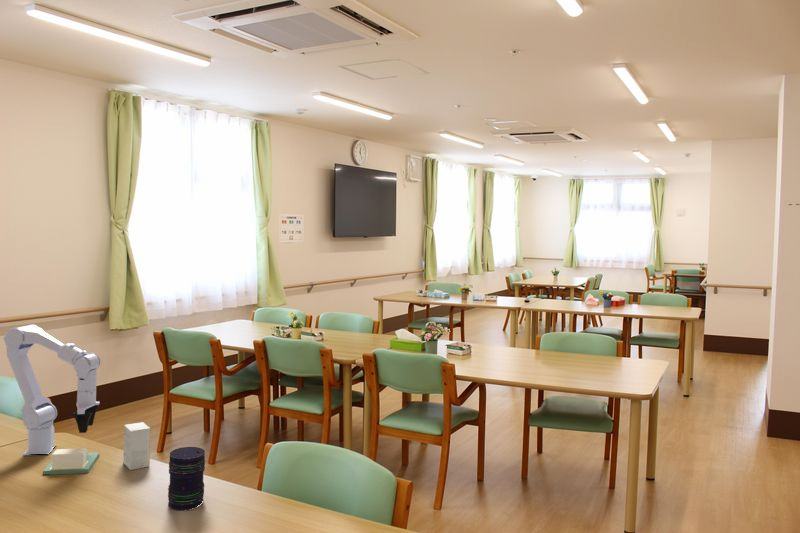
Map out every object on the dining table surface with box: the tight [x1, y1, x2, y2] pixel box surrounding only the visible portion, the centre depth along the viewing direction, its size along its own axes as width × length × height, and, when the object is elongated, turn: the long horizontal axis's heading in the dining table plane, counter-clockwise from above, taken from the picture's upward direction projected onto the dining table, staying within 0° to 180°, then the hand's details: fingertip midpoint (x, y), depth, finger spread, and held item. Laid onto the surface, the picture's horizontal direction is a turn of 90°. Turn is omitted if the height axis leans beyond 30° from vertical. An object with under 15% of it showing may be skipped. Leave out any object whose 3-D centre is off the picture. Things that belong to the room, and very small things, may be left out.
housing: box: [51, 448, 88, 468], centre depth 197 cm, size 5×9×4 cm, turn 103°
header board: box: [42, 452, 100, 475], centre depth 200 cm, size 15×13×4 cm
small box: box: [122, 421, 151, 471], centre depth 203 cm, size 8×6×13 cm
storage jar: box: [167, 446, 206, 512], centre depth 176 cm, size 10×10×15 cm
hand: (86, 428), depth 208 cm, fingers open, 7 cm apart
